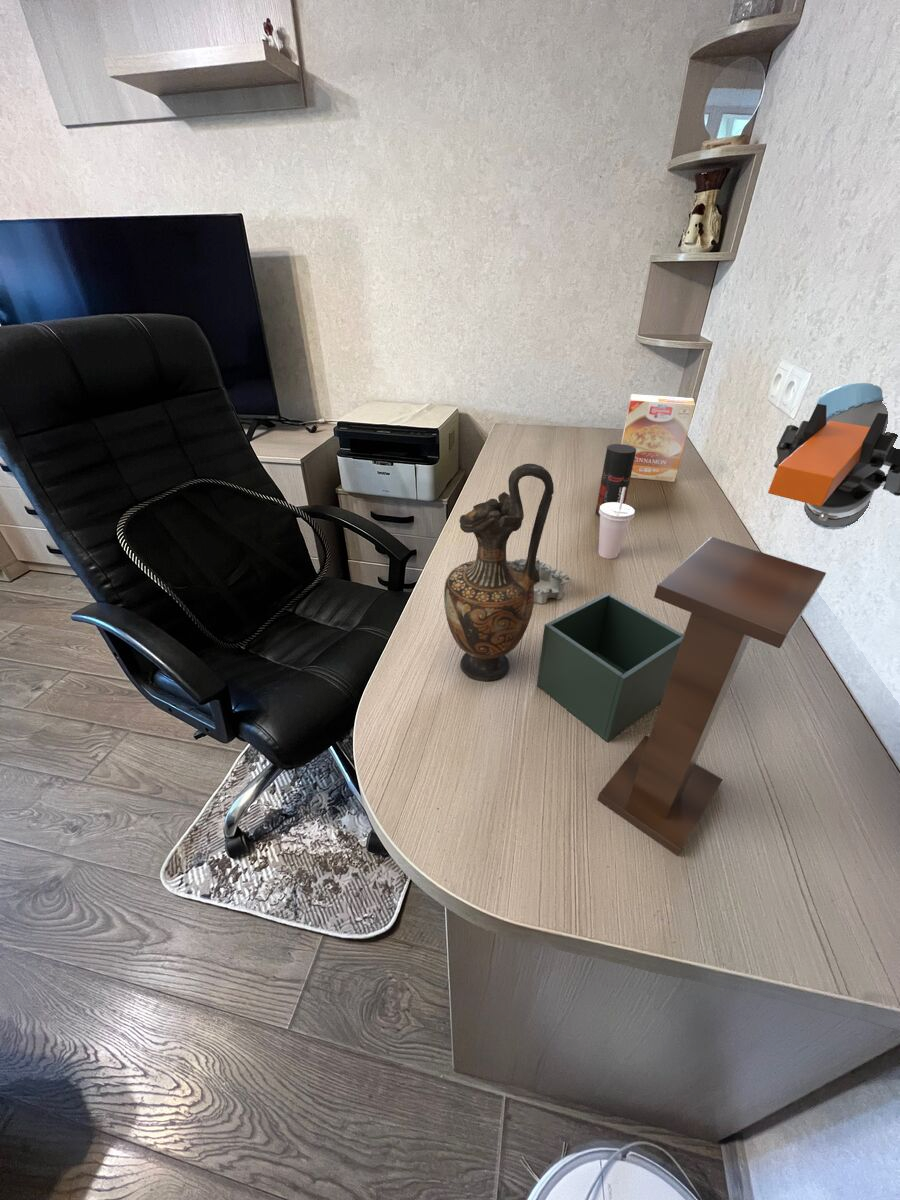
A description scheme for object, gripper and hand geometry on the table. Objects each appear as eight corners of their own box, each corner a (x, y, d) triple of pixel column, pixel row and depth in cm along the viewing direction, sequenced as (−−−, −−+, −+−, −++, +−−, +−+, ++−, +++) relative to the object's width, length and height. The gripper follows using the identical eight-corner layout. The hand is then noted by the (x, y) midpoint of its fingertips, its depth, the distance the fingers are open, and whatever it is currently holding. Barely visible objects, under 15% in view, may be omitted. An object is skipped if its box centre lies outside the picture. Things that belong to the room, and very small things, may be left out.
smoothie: (611, 565, 95) (626, 496, 87) (584, 553, 99) (596, 485, 91) (631, 555, 98) (647, 487, 90) (604, 543, 102) (617, 477, 94)
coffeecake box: (615, 476, 133) (630, 399, 121) (616, 467, 138) (630, 393, 127) (675, 482, 129) (696, 404, 118) (673, 473, 135) (693, 397, 123)
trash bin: (666, 698, 67) (688, 637, 61) (607, 742, 61) (624, 679, 55) (595, 650, 75) (607, 592, 69) (536, 685, 69) (544, 624, 63)
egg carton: (569, 598, 86) (573, 578, 84) (531, 608, 84) (533, 587, 82) (538, 568, 94) (540, 549, 92) (502, 576, 92) (504, 557, 90)
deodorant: (605, 506, 117) (617, 442, 109) (627, 514, 114) (642, 448, 105) (590, 513, 114) (601, 447, 106) (612, 521, 110) (625, 455, 102)
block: (820, 444, 53) (830, 420, 52) (865, 453, 51) (877, 428, 49) (767, 493, 42) (778, 464, 41) (821, 507, 40) (834, 477, 39)
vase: (451, 636, 78) (452, 443, 60) (532, 645, 76) (556, 449, 59) (438, 690, 68) (434, 479, 51) (530, 701, 66) (557, 487, 49)
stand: (643, 741, 61) (711, 536, 45) (719, 786, 56) (826, 572, 40) (597, 800, 54) (657, 584, 38) (678, 856, 49) (786, 635, 33)
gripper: (905, 532, 60) (942, 488, 41) (753, 493, 70) (728, 443, 51) (938, 472, 59) (992, 397, 40) (779, 441, 68) (762, 369, 50)
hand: (844, 423), depth 46 cm, fingers closed on block, 4 cm apart
